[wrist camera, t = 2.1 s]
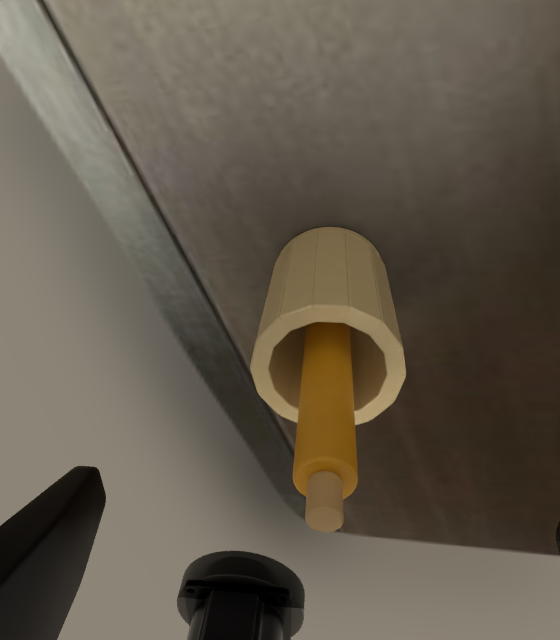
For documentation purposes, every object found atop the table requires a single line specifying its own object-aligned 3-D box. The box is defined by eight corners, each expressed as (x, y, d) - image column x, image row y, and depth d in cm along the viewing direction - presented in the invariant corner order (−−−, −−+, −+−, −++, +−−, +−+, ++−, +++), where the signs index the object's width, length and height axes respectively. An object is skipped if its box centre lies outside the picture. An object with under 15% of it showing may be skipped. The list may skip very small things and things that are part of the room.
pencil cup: (380, 329, 18) (397, 433, 14) (272, 324, 19) (252, 425, 14) (392, 227, 16) (417, 309, 12) (271, 224, 17) (246, 301, 12)
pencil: (346, 303, 17) (357, 546, 9) (309, 301, 17) (288, 540, 9) (348, 269, 17) (363, 500, 9) (310, 268, 17) (289, 495, 9)
